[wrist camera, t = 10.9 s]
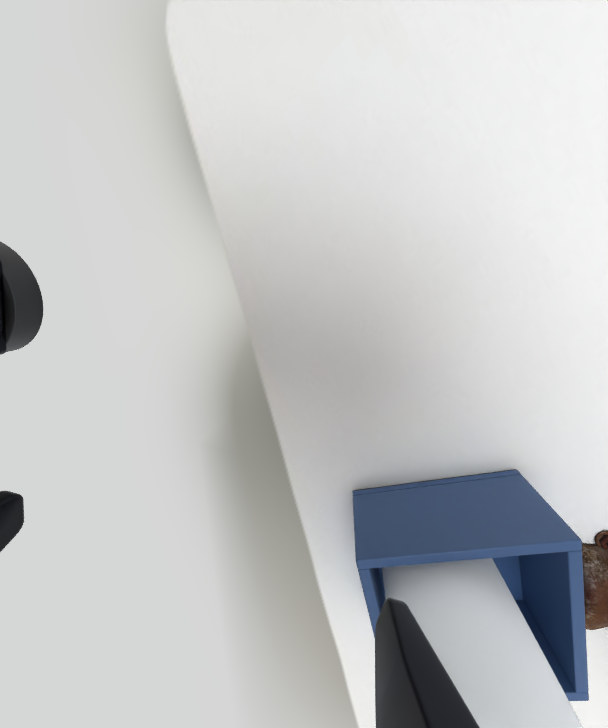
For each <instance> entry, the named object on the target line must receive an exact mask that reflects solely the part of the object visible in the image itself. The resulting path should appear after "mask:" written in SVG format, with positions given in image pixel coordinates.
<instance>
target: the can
mask: <svg viewBox="0 0 608 728" xmlns="http://www.w3.org/2000/svg"><path fill="white" fill-rule="evenodd" d="M382 574H383V582H384V589H385V597H386V599H387V598H393V599H397V600H400V601H403V602H405V603H406V604H407V606H408V607H409V609H410V611H411V612H412V614H413V616H414V617H415V619H416V621H417V623H418V624H419V626H420V628H421V629H422V631H423V633H424V634H425V636H426V638H427V639H428V641H429V643H430V644H431V646H432V648H433V650H434V651H435V653H436V655H437V656H438V658H439V660H440V661H441V663H442V665H443V666H444V668H445V670H446V671H447V673H448V675H449V677H450V678H451V680H452V682H453V683H454V685H455V687H456V688H457V690H458V692H459V693H460V695H461V697H462V698H463V700H464V702H465V704H466V705H467V707H468V709H469V710H470V712H471V714H472V715H473V717H474V719H475V720H476V722H477V724H478V726H479V727H480V728H583V727H582V725H581V723H580V721H579V719H578V717H577V715H576V713H575V711H574V710H573V708H572V706H571V704H570V702H569V700H568V698H567V696H566V695H565V693H564V691H563V689H562V687H561V685H560V683H559V682H558V680H557V678H556V676H555V674H554V672H553V670H552V668H551V667H550V665H549V663H548V661H547V659H546V657H545V655H544V654H543V652H542V650H541V648H540V646H539V644H538V642H537V641H536V639H535V637H534V635H533V633H532V631H531V629H530V628H529V626H528V624H527V622H526V620H525V618H524V616H523V615H522V613H521V611H520V609H519V607H518V605H517V603H516V602H515V600H514V598H513V596H512V594H511V592H510V591H509V589H508V587H507V585H506V583H505V581H504V579H503V578H502V576H501V574H500V572H499V570H498V568H497V567H496V565H495V563H494V561H493V559H492V558H486V559H475V560H463V561H452V562H440V563H429V564H417V565H406V566H394V567H382Z"/></svg>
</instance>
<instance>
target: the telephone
mask: <svg viewBox="0 0 608 728" xmlns="http://www.w3.org/2000/svg"><path fill="white" fill-rule="evenodd" d="M595 542H596V544H597V545H584V544H582V550H581V551H582V562H583V584H584V606H585V628H586V629H589V630H595V629H599V628H604V627H608V531H603V532H601V533H599V534H598V535H597V536H596V538H595Z"/></svg>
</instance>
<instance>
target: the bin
mask: <svg viewBox="0 0 608 728" xmlns="http://www.w3.org/2000/svg"><path fill="white" fill-rule="evenodd" d="M353 510H354V531H355V552H356V563H357V567H358V571H359V575H360V580H361V584H362V588H363V592H364V596H365V600H366V604H367V608H368V612H369V616H370V621H371V625H372V629H373V633H374V637H375V628H376V622H377V620H378V617H379V615H380V612H381V610H382V607H383V605H384V602H385V600H386V597H385V589H384V582H383V574H382V567H394V566H406V565H417V564H429V563H440V562H452V561H463V560H475V559H486V558H492V559H493V561H494V563H495V565H496V567H497V568H498V570H499V572H500V574H501V576H502V578H503V579H504V581H505V583H506V585H507V587H508V589H509V591H510V592H511V594H512V596H513V598H514V600H515V602H516V603H517V605H518V607H519V609H520V611H521V613H522V615H523V616H524V618H525V620H526V622H527V624H528V626H529V628H530V629H531V631H532V633H533V635H534V637H535V639H536V641H537V642H538V644H539V646H540V648H541V650H542V652H543V654H544V655H545V657H546V659H547V661H548V663H549V665H550V667H551V668H552V670H553V672H554V674H555V676H556V678H557V680H558V682H559V683H560V685H561V687H562V689H563V691H564V693H565V695H566V696H567V698H568V700H569V701H588V700H589V695H588V673H587V651H586V629H585V606H584V584H583V562H582V551H581V550H582V541H581V539H580V538H579V537H578V536H577V535H576V534H575V532H574V531H573V530H572V529H571V528H570V527H569V526H568V525H567V524H566V523H565V522H564V521H563V519H562V518H561V517H560V516H559V515H558V514H557V513H556V512H555V511H554V510H553V509H552V508H551V506H550V505H549V504H548V503H547V502H546V501H545V500H544V499H543V498H542V497H541V496H540V494H539V493H538V492H537V491H536V490H535V489H534V488H533V487H532V486H531V485H530V484H529V483H528V481H527V480H526V479H525V478H524V477H523V476H522V475H521V474H520V473H519V472H518V470H510V471H502V472H494V473H487V474H479V475H471V476H464V477H456V478H448V479H440V480H433V481H425V482H417V483H410V484H402V485H394V486H387V487H379V488H371V489H364V490H356V491H353Z"/></svg>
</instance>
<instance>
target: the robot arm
mask: <svg viewBox="0 0 608 728" xmlns="http://www.w3.org/2000/svg"><path fill="white" fill-rule="evenodd" d="M6 349H7V348H6V327H5V307H4V287H3V267H2V262H1V260H0V354H4V353H5V352H6ZM23 508H24V506H23V497H22V496H21V495H20V494H17V493H13V492H9V491H1V492H0V552H1V551H2V549H3V548H5V546H6V545H7V544H8V543H9V542H10V541H11V540H12V539H13V538H14V537H15V536H16V534H17V533H18V532H19V531H20V529H21V528H22V525H23V523H24V509H23ZM375 705H376V728H480V727H479V726H478V724H477V722H476V720H475V719H474V717H473V715H472V714H471V712H470V710H469V709H468V707H467V705H466V704H465V702H464V700H463V698H462V697H461V695H460V693H459V692H458V690H457V688H456V687H455V685H454V683H453V682H452V680H451V678H450V677H449V675H448V673H447V671H446V670H445V668H444V666H443V665H442V663H441V661H440V660H439V658H438V656H437V655H436V653H435V651H434V650H433V648H432V646H431V644H430V643H429V641H428V639H427V638H426V636H425V634H424V633H423V631H422V629H421V628H420V626H419V624H418V623H417V621H416V619H415V617H414V616H413V614H412V612H411V611H410V609H409V607H408V606H407V604H406V603H405V602H403V601H400V600H397V599H393V598H387V599H386V600H385V602H384V605H383V607H382V610H381V612H380V615H379V617H378V620H377V622H376V628H375Z"/></svg>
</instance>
